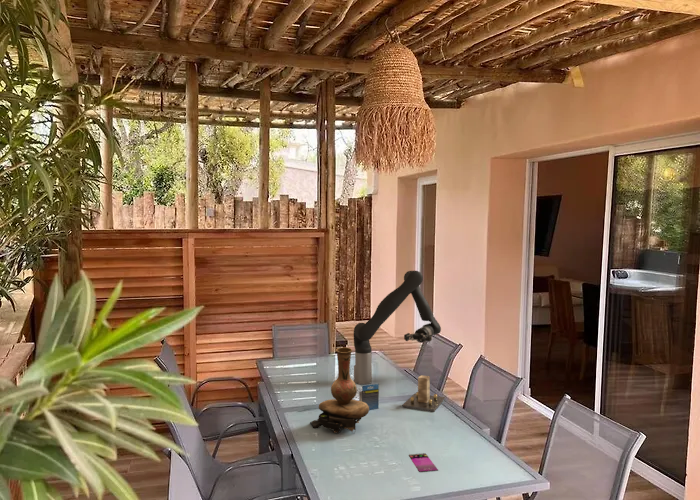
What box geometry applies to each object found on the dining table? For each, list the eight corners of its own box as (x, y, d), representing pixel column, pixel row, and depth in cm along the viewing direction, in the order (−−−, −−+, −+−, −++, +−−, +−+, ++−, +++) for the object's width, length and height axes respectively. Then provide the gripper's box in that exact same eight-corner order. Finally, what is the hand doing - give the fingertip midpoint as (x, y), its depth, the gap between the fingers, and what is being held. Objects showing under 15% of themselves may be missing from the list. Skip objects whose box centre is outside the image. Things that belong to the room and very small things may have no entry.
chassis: (402, 407, 266) (402, 399, 266) (414, 395, 284) (414, 388, 284) (434, 411, 259) (434, 404, 259) (445, 399, 277) (445, 392, 277)
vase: (319, 439, 227) (318, 355, 226) (307, 421, 248) (307, 344, 247) (373, 432, 234) (372, 351, 233) (357, 415, 255) (356, 340, 254)
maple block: (418, 401, 271) (418, 377, 270) (420, 399, 275) (420, 375, 274) (426, 402, 269) (426, 378, 268) (429, 400, 273) (429, 376, 272)
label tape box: (375, 406, 268) (375, 381, 267) (379, 408, 264) (378, 383, 264) (358, 408, 265) (358, 383, 264) (362, 411, 261) (362, 385, 260)
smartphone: (426, 455, 212) (426, 453, 212) (438, 471, 197) (438, 468, 197) (408, 456, 211) (407, 454, 211) (419, 473, 196) (419, 470, 196)
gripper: (410, 326, 306) (401, 331, 291) (435, 328, 300) (427, 333, 285) (410, 340, 306) (401, 345, 291) (435, 342, 300) (427, 348, 285)
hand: (413, 339), depth 288 cm, fingers open, 8 cm apart
